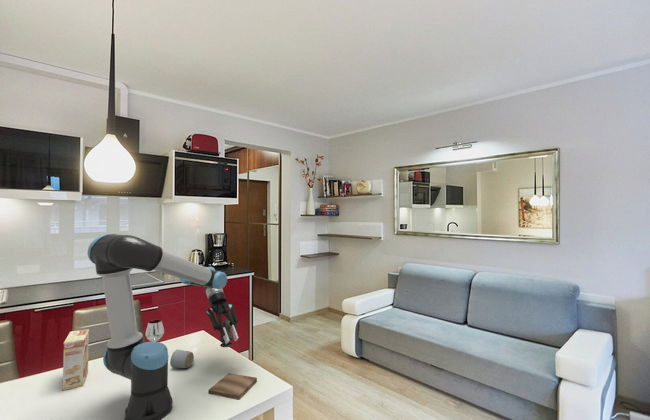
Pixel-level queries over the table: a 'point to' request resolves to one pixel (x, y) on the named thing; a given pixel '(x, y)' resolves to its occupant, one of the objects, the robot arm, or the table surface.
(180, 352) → the ceramic mug
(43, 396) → the table surface
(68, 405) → the table surface
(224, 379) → the walnut board
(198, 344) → the table surface
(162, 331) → the wineglass
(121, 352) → the robot arm
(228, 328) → the weathered metal finial
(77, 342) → the coffeecake box
